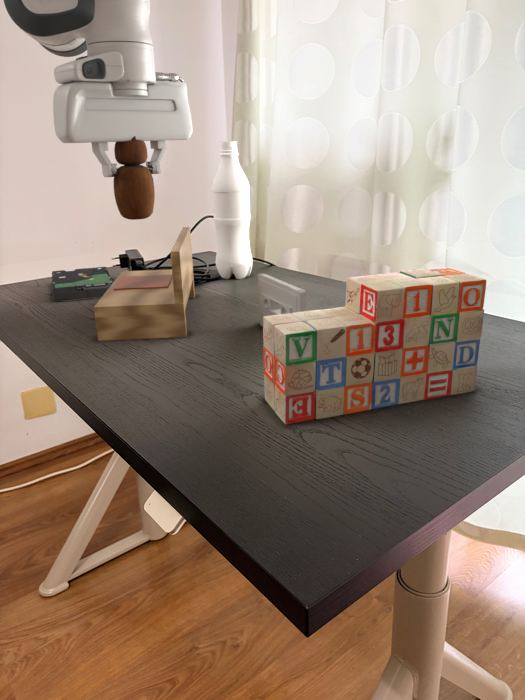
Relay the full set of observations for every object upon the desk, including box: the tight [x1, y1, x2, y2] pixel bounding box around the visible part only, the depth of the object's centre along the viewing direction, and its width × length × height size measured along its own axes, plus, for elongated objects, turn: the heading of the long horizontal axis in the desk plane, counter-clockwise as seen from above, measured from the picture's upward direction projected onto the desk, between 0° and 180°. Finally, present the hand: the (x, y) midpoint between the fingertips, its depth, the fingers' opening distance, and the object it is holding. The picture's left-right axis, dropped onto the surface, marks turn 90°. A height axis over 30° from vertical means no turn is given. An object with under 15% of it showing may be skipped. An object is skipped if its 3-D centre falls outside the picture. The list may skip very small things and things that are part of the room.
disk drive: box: [51, 266, 114, 302], centre depth 107 cm, size 10×3×15 cm
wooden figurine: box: [113, 136, 156, 221], centre depth 84 cm, size 7×6×15 cm
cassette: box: [257, 273, 307, 327], centre depth 79 cm, size 12×2×8 cm, turn 26°
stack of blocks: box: [262, 267, 487, 425], centre depth 59 cm, size 21×6×12 cm, turn 109°
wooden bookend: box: [93, 226, 196, 342], centre depth 88 cm, size 12×22×12 cm, turn 3°
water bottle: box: [211, 140, 253, 280], centre depth 110 cm, size 7×7×25 cm
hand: (132, 175), depth 85 cm, fingers closed on wooden figurine, 6 cm apart
